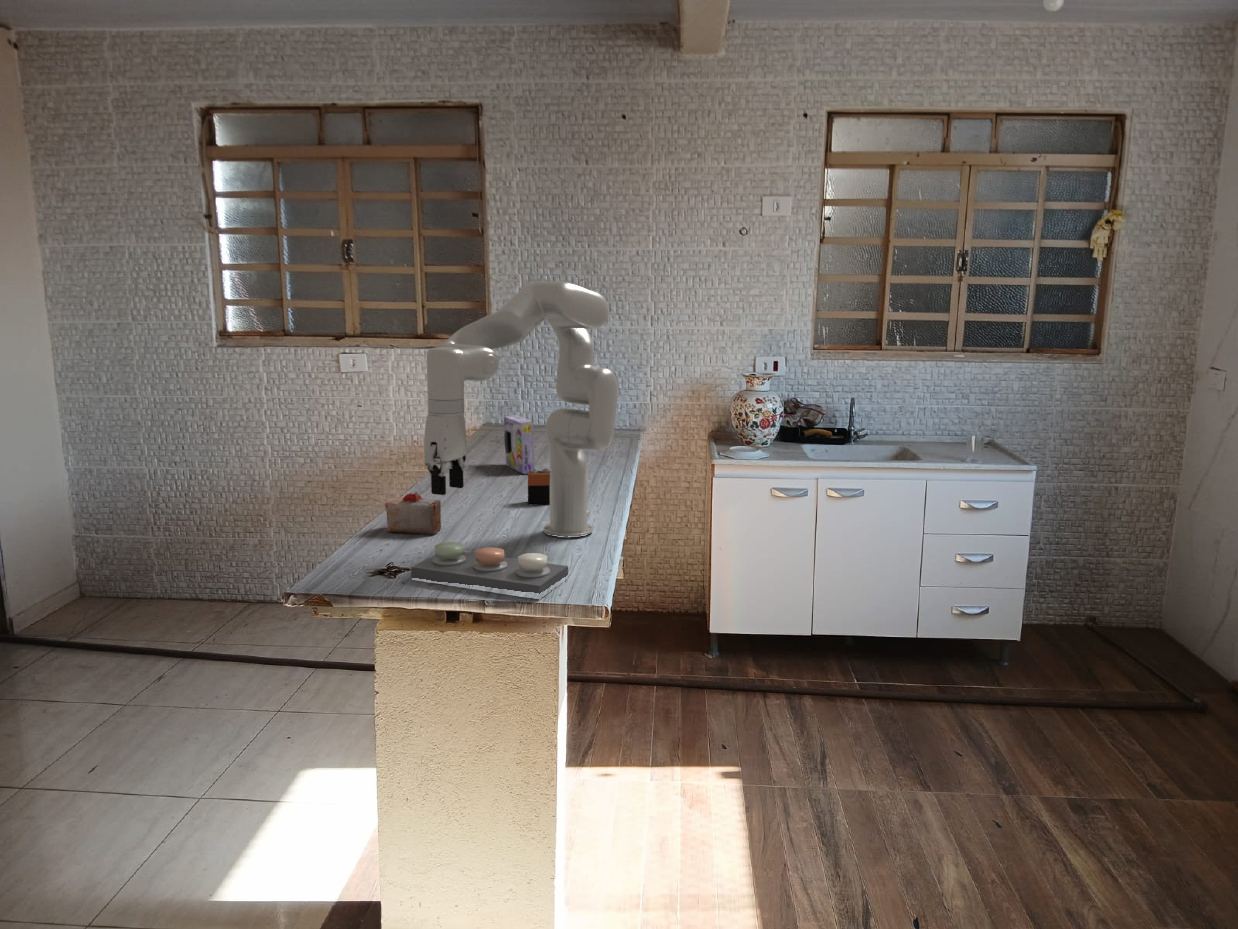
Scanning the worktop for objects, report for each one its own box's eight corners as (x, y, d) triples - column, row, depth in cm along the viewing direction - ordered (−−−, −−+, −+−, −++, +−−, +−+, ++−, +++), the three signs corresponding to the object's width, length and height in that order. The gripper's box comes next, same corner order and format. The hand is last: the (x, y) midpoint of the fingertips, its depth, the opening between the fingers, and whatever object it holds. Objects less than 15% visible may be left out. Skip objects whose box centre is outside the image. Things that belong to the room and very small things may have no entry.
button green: (444, 548, 197) (444, 540, 197) (468, 552, 195) (468, 544, 195) (429, 556, 192) (429, 548, 191) (453, 559, 190) (453, 551, 189)
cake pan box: (503, 464, 312) (502, 414, 308) (517, 463, 314) (516, 413, 310) (521, 475, 295) (521, 422, 291) (535, 474, 297) (535, 421, 293)
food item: (381, 533, 224) (380, 495, 222) (394, 525, 232) (392, 488, 230) (433, 537, 222) (433, 498, 220) (444, 528, 230) (443, 491, 228)
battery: (552, 504, 257) (552, 470, 255) (528, 505, 256) (528, 470, 254) (551, 501, 261) (551, 467, 259) (527, 501, 260) (527, 467, 258)
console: (446, 562, 202) (446, 547, 202) (568, 579, 192) (568, 563, 191) (411, 580, 190) (410, 564, 189) (539, 600, 179) (539, 583, 179)
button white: (526, 559, 190) (526, 551, 190) (551, 563, 188) (551, 555, 188) (513, 567, 185) (513, 559, 184) (539, 571, 183) (539, 563, 182)
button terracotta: (484, 554, 194) (484, 546, 193) (509, 557, 192) (509, 549, 191) (470, 562, 188) (470, 553, 188) (495, 565, 186) (495, 557, 186)
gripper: (452, 401, 196) (453, 481, 200) (407, 410, 180) (409, 497, 184) (482, 403, 194) (483, 484, 197) (439, 413, 178) (441, 501, 181)
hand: (447, 490), depth 191 cm, fingers open, 6 cm apart
